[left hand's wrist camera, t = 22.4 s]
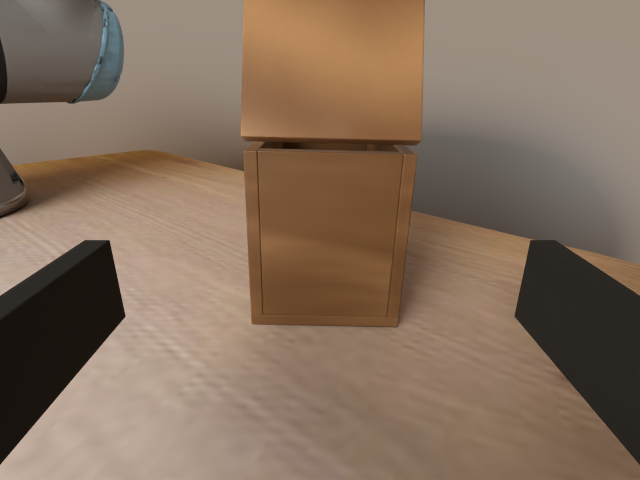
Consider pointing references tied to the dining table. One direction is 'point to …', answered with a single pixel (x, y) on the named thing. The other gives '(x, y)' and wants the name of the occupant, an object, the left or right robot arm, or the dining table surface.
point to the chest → (327, 231)
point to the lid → (333, 71)
